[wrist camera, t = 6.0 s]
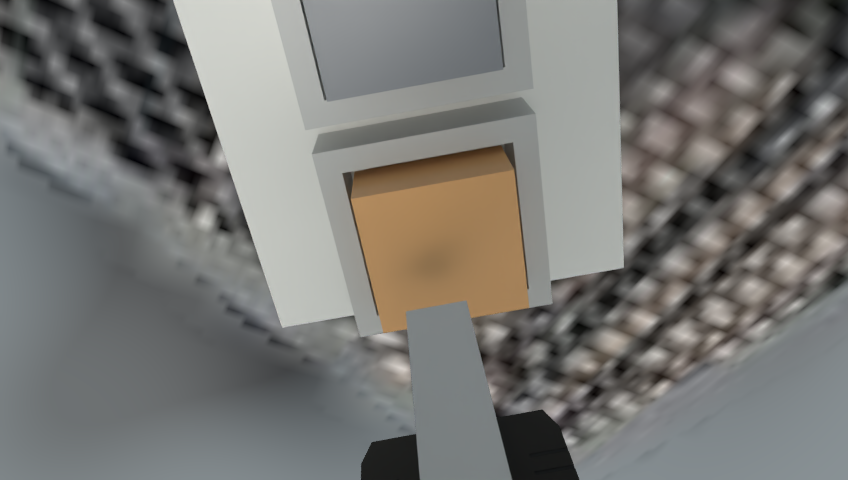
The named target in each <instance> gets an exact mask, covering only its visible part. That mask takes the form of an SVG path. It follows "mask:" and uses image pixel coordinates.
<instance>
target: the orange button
mask: <svg viewBox="0 0 848 480" xmlns="http://www.w3.org/2000/svg"><path fill="white" fill-rule="evenodd" d="M351 202H352V206H353V210H354V214H355V218H356V223H357V227H358V231H359V235H360V239H361V243H362V247H363V251H364V255H365V260H366V264H367V268H368V272H369V276H370V280H371V284H372V288H373V292H374V297H375V301H376V305H377V309H378V313H379V317H380V321H381V325H382V329H383V333H387V332H393V331H399V330H405V329H407V320H406V311H411V310H417V309H422V308H427V307H433V306H438V305H444V304H449V303H455V302H460V301H465V300H466V301H467V305H468V308H469V312H470V316H471V318H474V317H479V316H485V315H491V314H497V313H502V312H508V311H514V310H520V309H525V308H529V300H528V291H527V282H526V272H525V263H524V254H523V245H522V236H521V227H520V217H519V208H518V199H517V190H516V181H515V172H514V168H513V166H512V165H511V163H510V161H509V159H508V157H507V155H506V154H505V152H504V150H503V148H502V146H501V145H499V146H493V147H488V148H482V149H477V150H471V151H466V152H460V153H455V154H449V155H444V156H438V157H433V158H427V159H421V160H416V161H410V162H405V163H399V164H394V165H388V166H383V167H377V168H372V169H366V170H361V171H355V172H354V178H353V186H352V194H351Z"/></svg>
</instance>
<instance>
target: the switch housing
mask: <svg viewBox="0 0 848 480" xmlns="http://www.w3.org/2000/svg"><path fill="white" fill-rule="evenodd" d="M173 1H174V4H175V7H176V10H177V13H178V16H179V19H180V22H181V25H182V28H183V31H184V34H185V37H186V40H187V43H188V46H189V49H190V52H191V55H192V58H193V61H194V64H195V67H196V70H197V73H198V76H199V79H200V82H201V85H202V88H203V91H204V94H205V97H206V100H207V103H208V106H209V109H210V112H211V115H212V118H213V121H214V124H215V127H216V130H217V133H218V136H219V139H220V142H221V145H222V148H223V151H224V154H225V157H226V160H227V163H228V166H229V169H230V172H231V175H232V178H233V181H234V184H235V187H236V190H237V193H238V196H239V199H240V202H241V205H242V208H243V211H244V214H245V217H246V220H247V223H248V226H249V229H250V232H251V235H252V238H253V241H254V244H255V247H256V250H257V253H258V256H259V259H260V262H261V265H262V268H263V271H264V274H265V277H266V280H267V283H268V286H269V289H270V292H271V295H272V298H273V301H274V304H275V307H276V310H277V313H278V316H279V319H280V322H281V325H282V328H283V327H289V326H294V325H300V324H306V323H311V322H317V321H323V320H329V319H334V318H340V317H346V316H351V315H354V316H355V319H356V323H357V327H358V331H359V335H360V337H364V336H370V335H376V334H381V333H383V329H382V325H381V321H380V317H379V313H378V309H377V305H376V301H375V297H374V292H373V288H372V284H371V280H370V276H369V272H368V268H367V264H366V260H365V255H364V251H363V247H362V243H361V239H360V235H359V231H358V227H357V223H356V218H355V214H354V210H353V206H352V202H351V194H352V186H353V178H354V172H355V171H361V170H366V169H372V168H377V167H383V166H388V165H394V164H399V163H405V162H410V161H416V160H421V159H427V158H433V157H438V156H444V155H449V154H455V153H460V152H466V151H471V150H477V149H482V148H488V147H493V146H499V145H501V146H502V148H503V150H504V152H505V154H506V155H507V157H508V159H509V161H510V163H511V165H512V166H513V168H514V172H515V181H516V190H517V199H518V208H519V217H520V227H521V236H522V245H523V254H524V263H525V272H526V282H527V291H528V300H529V308H531V307H537V306H542V305H548V304H553V303H552V292H551V281H552V280H557V279H563V278H569V277H574V276H580V275H586V274H592V273H597V272H603V271H609V270H615V269H620V268H624V254H623V214H622V174H621V134H620V94H619V53H618V13H617V0H496V7H497V16H498V25H499V34H500V43H501V52H502V62H503V70H498V71H493V72H487V73H482V74H477V75H471V76H466V77H460V78H455V79H449V80H444V81H439V82H433V83H428V84H422V85H417V86H411V87H406V88H401V89H395V90H390V91H384V92H379V93H373V94H368V95H362V96H357V97H352V98H346V99H341V100H335V101H330V102H327V99H326V95H325V91H324V87H323V83H322V79H321V75H320V71H319V66H318V62H317V58H316V54H315V50H314V46H313V42H312V38H311V34H310V29H309V25H308V21H307V17H306V13H305V9H304V5H303V1H302V0H173Z"/></svg>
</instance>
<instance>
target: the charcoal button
mask: <svg viewBox="0 0 848 480" xmlns="http://www.w3.org/2000/svg"><path fill="white" fill-rule="evenodd" d="M302 1H303V5H304V9H305V13H306V17H307V21H308V25H309V29H310V34H311V38H312V42H313V46H314V50H315V54H316V58H317V62H318V66H319V71H320V75H321V79H322V83H323V87H324V91H325V95H326V99H327V102H330V101H335V100H341V99H346V98H352V97H357V96H362V95H368V94H373V93H379V92H384V91H390V90H395V89H401V88H406V87H411V86H417V85H422V84H428V83H433V82H439V81H444V80H449V79H455V78H460V77H466V76H471V75H477V74H482V73H487V72H493V71H498V70H503V62H502V52H501V43H500V34H499V25H498V16H497V7H496V0H302Z"/></svg>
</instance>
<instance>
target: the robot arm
mask: <svg viewBox="0 0 848 480" xmlns="http://www.w3.org/2000/svg"><path fill="white" fill-rule="evenodd" d="M406 320H407V332H408V344H409V356H410V367H411V379H412V391H413V403H414V415H415V427H416V434H414V435H409V436H403V437H398V438H392V439H387V440H381V441H376V442H372V443H371V445H370V447H369V449H368V451H367V453H366V455H365V457H364V459H363V462H362V463H361V480H579V477H578V475H577V472H576V469H575V468H574V464H573V461H572V459H571V456H570V453H569V451H568V449H567V446H566V443H565V440H564V438H563V435H562V432H561V430H560V427H559V425H558V424H557V423H555V422H554V421H553V420H552V419H551V418H550V417H549V416H548V415H547V414H546V413H545V412H544V411H543V410H538V411H532V412H527V413H521V414H516V415H510V416H505V417H499V418H496V415H495V411H494V407H493V403H492V399H491V395H490V391H489V387H488V383H487V379H486V375H485V371H484V368H483V364H482V360H481V356H480V352H479V348H478V344H477V340H476V336H475V332H474V328H473V324H472V320H471V316H470V312H469V308H468V305H467V301H466V300H465V301H460V302H455V303H449V304H444V305H438V306H433V307H427V308H422V309H417V310H411V311H406Z"/></svg>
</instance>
